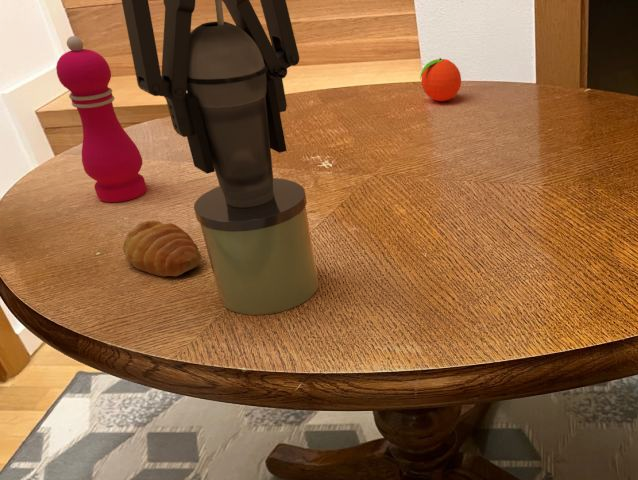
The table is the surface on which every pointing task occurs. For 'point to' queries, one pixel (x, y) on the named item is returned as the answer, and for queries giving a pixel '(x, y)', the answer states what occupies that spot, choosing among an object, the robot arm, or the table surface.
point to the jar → (260, 250)
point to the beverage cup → (233, 109)
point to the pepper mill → (100, 125)
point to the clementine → (441, 79)
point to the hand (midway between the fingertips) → (241, 157)
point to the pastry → (161, 249)
